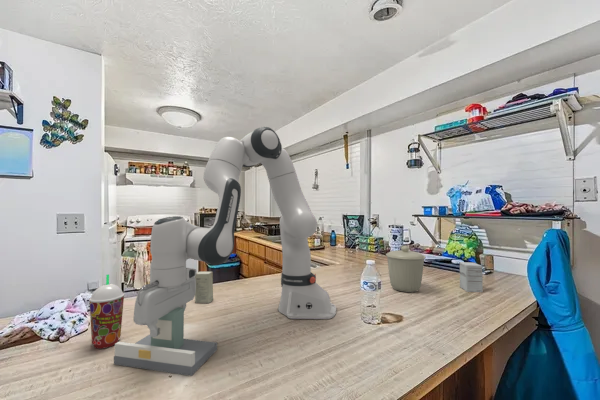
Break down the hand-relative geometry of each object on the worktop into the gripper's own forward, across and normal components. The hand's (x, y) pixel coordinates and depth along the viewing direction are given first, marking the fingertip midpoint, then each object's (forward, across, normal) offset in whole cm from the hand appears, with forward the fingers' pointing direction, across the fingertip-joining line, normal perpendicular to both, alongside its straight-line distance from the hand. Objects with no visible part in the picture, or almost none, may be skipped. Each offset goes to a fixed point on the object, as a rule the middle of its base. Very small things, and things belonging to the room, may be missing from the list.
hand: (167, 327), depth 74 cm
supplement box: (+8, +82, -104) cm, 133 cm away
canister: (+8, +76, -73) cm, 106 cm away
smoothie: (+7, +1, +21) cm, 22 cm away
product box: (+5, 0, 0) cm, 5 cm away
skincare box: (+7, +39, +13) cm, 42 cm away
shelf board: (+7, -1, -1) cm, 7 cm away
